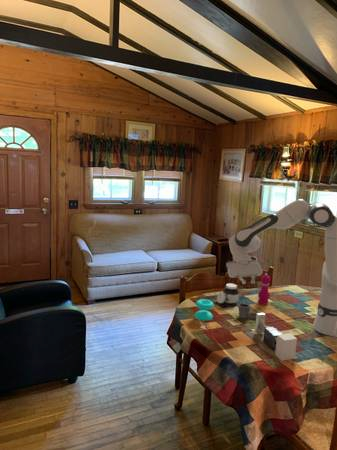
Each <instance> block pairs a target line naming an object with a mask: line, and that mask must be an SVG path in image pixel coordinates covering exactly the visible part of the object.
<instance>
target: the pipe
mask: <svg viewBox="0 0 337 450" xmlns="http://www.w3.org/2000/svg"><path fill="white" fill-rule="evenodd" d="M237 308H238V317H240V318H241V319H251V320H256V315H257V313H258V312H250V311H251V305H250V304H247V303H238V304H237Z"/></svg>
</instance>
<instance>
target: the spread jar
mask: <svg viewBox="0 0 337 450" xmlns="http://www.w3.org/2000/svg"><path fill="white" fill-rule="evenodd" d="M237 287H238V285H237V284H235V283H226V285H225V287H223V290H222V292H219V293H218V294H217V296H216V301H217V303H218V304H227V305H231V306H232V305H236V304H237V303H238V301H239V299H240V291H239V289H238V288H237Z"/></svg>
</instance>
